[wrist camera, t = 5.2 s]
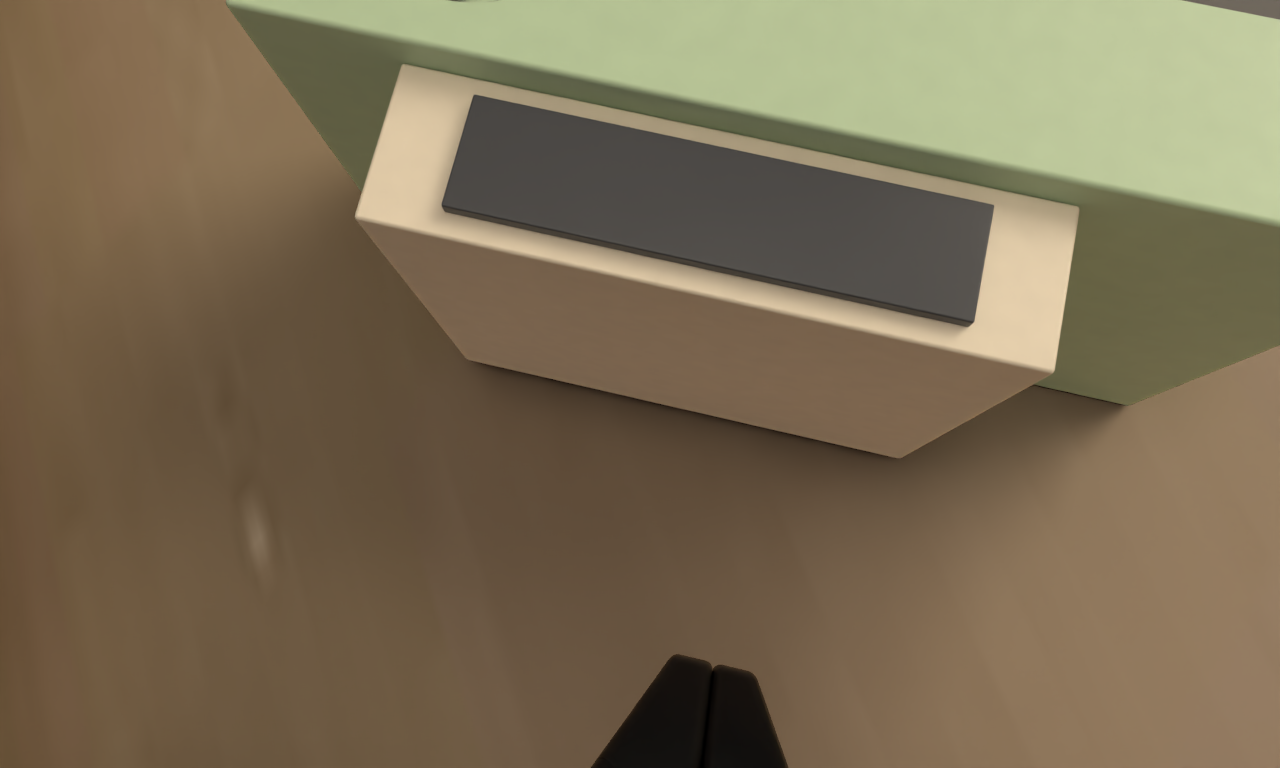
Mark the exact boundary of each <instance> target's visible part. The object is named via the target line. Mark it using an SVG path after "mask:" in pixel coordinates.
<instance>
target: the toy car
mask: <svg viewBox="0 0 1280 768" xmlns="http://www.w3.org/2000/svg"><path fill="white" fill-rule="evenodd" d="M226 5H227V6H228V8H229V9H230V11H231V12H232V13H233V15H234V16H235V18H236V19H237V20H238V22H239V23H240V24H241V26H242V27H243V29H244V30H245V31H246V33H247V34H248V35H249V37H250V38H251V40H252V41H253V42H254V44H255V45H256V47H257V48H258V49H259V51H260V52H261V53H262V55H263V56H264V58H265V59H266V60H267V62H268V63H269V64H270V66H271V67H272V69H273V70H274V71H275V73H276V74H277V76H278V77H279V78H280V80H281V81H282V82H283V84H284V85H285V87H286V88H287V89H288V91H289V92H290V94H291V95H292V96H293V98H294V99H295V100H296V102H297V103H298V105H299V106H300V107H301V109H302V110H303V111H304V113H305V114H306V116H307V117H308V118H309V120H310V121H311V123H312V124H313V125H314V127H315V128H316V129H317V131H318V132H319V134H320V135H321V136H322V138H323V139H324V141H325V142H326V143H327V145H328V146H329V147H330V149H331V150H332V152H333V153H334V154H335V156H336V157H337V158H338V160H339V161H340V163H341V164H342V165H343V167H344V168H345V170H346V171H347V172H348V174H349V175H350V176H351V178H352V179H353V181H354V182H355V183H356V185H357V186H358V188H359V189H360V190H361V192H362V194H361V197H360V200H359V203H358V207H357V210H356V213H355V219H356V220H357V222H358V223H359V224H360V225H361V227H362V228H363V229H364V230H365V232H366V233H367V234H368V236H369V237H370V238H371V239H372V241H373V242H374V243H375V244H376V246H377V247H378V248H379V249H380V251H381V252H382V253H383V254H384V256H385V257H386V258H387V260H388V261H389V262H390V263H391V265H392V266H393V267H394V268H395V270H396V271H397V272H398V273H399V275H400V276H401V277H402V278H403V280H404V281H405V282H406V284H407V285H408V286H409V287H410V289H411V290H412V291H413V292H414V294H415V295H416V296H417V297H418V299H419V300H420V301H421V302H422V304H423V305H424V306H425V307H426V309H427V310H428V311H429V313H430V314H431V315H432V316H433V318H434V319H435V320H436V321H437V323H438V324H439V325H440V326H441V328H442V329H443V330H444V331H445V333H446V334H447V335H448V337H449V338H450V339H451V340H452V342H453V343H454V344H455V345H456V347H457V348H458V349H459V350H460V352H461V353H462V354H463V355H464V357H465V358H466V359H467V360H471V361H475V362H480V363H484V364H488V365H493V366H497V367H502V368H506V369H510V370H515V371H519V372H523V373H528V374H532V375H536V376H541V377H545V378H550V379H554V380H558V381H563V382H567V383H571V384H576V385H580V386H584V387H589V388H593V389H598V390H602V391H606V392H611V393H615V394H619V395H624V396H628V397H632V398H637V399H641V400H646V401H650V402H654V403H659V404H663V405H667V406H672V407H676V408H680V409H685V410H689V411H694V412H698V413H702V414H707V415H711V416H715V417H720V418H724V419H728V420H733V421H737V422H742V423H746V424H750V425H755V426H759V427H763V428H768V429H772V430H776V431H781V432H785V433H790V434H794V435H798V436H803V437H807V438H811V439H816V440H820V441H824V442H829V443H833V444H838V445H842V446H846V447H851V448H855V449H859V450H864V451H868V452H872V453H877V454H881V455H886V456H890V457H894V458H902V457H904V456H906V455H907V454H909V453H911V452H913V451H915V450H916V449H918V448H920V447H922V446H924V445H925V444H927V443H929V442H931V441H933V440H934V439H936V438H938V437H940V436H941V435H943V434H945V433H947V432H949V431H950V430H952V429H954V428H956V427H958V426H959V425H961V424H963V423H965V422H967V421H968V420H970V419H972V418H974V417H976V416H977V415H979V414H981V413H983V412H985V411H986V410H988V409H990V408H992V407H994V406H995V405H997V404H999V403H1001V402H1003V401H1004V400H1006V399H1008V398H1010V397H1011V396H1013V395H1015V394H1017V393H1019V392H1020V391H1022V390H1024V389H1026V388H1028V387H1029V386H1031V385H1033V384H1034V385H1038V386H1043V387H1047V388H1052V389H1056V390H1061V391H1065V392H1070V393H1074V394H1078V395H1083V396H1087V397H1092V398H1096V399H1101V400H1105V401H1110V402H1114V403H1119V404H1123V405H1132V404H1134V403H1137V402H1139V401H1142V400H1144V399H1147V398H1149V397H1152V396H1154V395H1157V394H1159V393H1162V392H1164V391H1167V390H1169V389H1172V388H1174V387H1177V386H1179V385H1181V384H1184V383H1186V382H1189V381H1191V380H1194V379H1196V378H1199V377H1201V376H1204V375H1206V374H1209V373H1211V372H1214V371H1216V370H1219V369H1221V368H1224V367H1226V366H1229V365H1231V364H1234V363H1236V362H1239V361H1241V360H1244V359H1246V358H1249V357H1251V356H1254V355H1256V354H1259V353H1261V352H1264V351H1266V350H1269V349H1271V348H1274V347H1276V346H1279V345H1280V0H226Z"/></svg>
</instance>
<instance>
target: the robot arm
mask: <svg viewBox="0 0 1280 768" xmlns="http://www.w3.org/2000/svg"><path fill="white" fill-rule="evenodd" d="M591 768H788V765H787V762H786V759H785V757H784V754H783V751H782V748H781V745H780V742H779V740H778V737H777V734H776V731H775V728H774V725H773V722H772V720H771V717H770V714H769V711H768V708H767V705H766V703H765V700H764V697H763V694H762V691H761V688H760V686H759V683H758V680H757V678H756V677H755V675H754V674H753V673H751V672H749V671H746V670H742V669H738V668H733V667H729V666H725V665H717V666H715V667H714V668H713V670H712V666H711V664H710V663H709V662H707V661H705V660H701V659H696V658H692V657H688V656H684V655H680V654H676V655H673V656H672V657H671V658H670V659H669V660H668V661H667V663H666V664H665V665H664V667H663V668H662V669H661V671H660V672H659V674H658V675H657V676H656V678H655V679H654V681H653V682H652V683H651V685H650V686H649V688H648V689H647V690H646V692H645V693H644V694H643V696H642V697H641V699H640V700H639V701H638V703H637V704H636V706H635V707H634V708H633V710H632V711H631V713H630V714H629V715H628V717H627V718H626V720H625V721H624V722H623V724H622V725H621V726H620V728H619V729H618V731H617V732H616V733H615V735H614V736H613V738H612V739H611V740H610V742H609V743H608V745H607V746H606V747H605V749H604V750H603V751H602V753H601V754H600V756H599V757H598V758H597V760H596V761H595V763H594V764H593V765H592V767H591Z"/></svg>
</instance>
